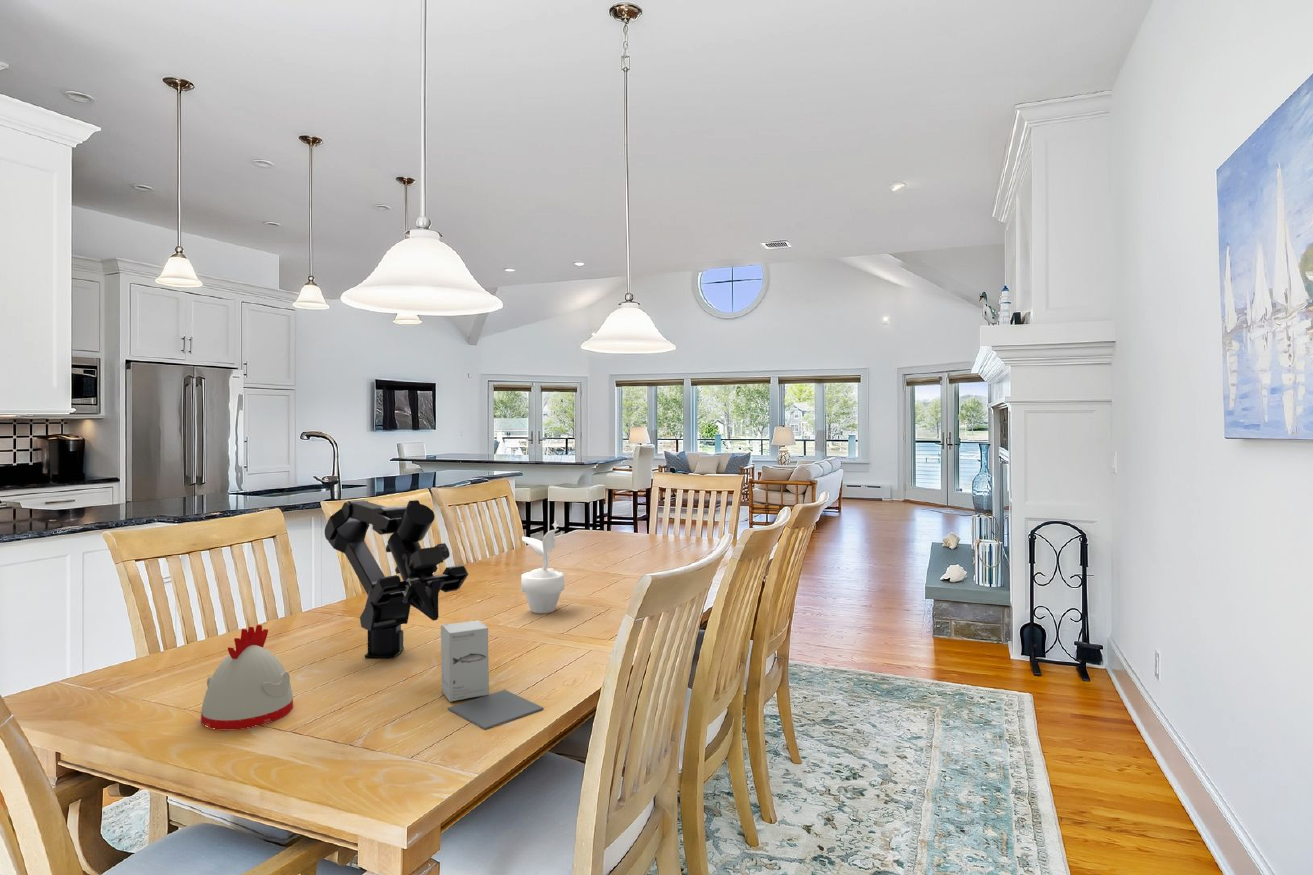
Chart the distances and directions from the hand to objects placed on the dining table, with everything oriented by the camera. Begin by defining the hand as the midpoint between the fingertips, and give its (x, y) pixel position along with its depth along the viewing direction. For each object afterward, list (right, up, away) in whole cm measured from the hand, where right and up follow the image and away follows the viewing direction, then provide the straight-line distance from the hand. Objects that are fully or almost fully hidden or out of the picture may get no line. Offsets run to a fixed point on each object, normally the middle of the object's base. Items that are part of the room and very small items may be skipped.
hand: (435, 619), depth 142 cm
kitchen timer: (-28, -13, -16) cm, 34 cm away
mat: (+15, -12, -14) cm, 24 cm away
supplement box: (+8, -12, -7) cm, 16 cm away
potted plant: (+12, -11, +52) cm, 55 cm away
